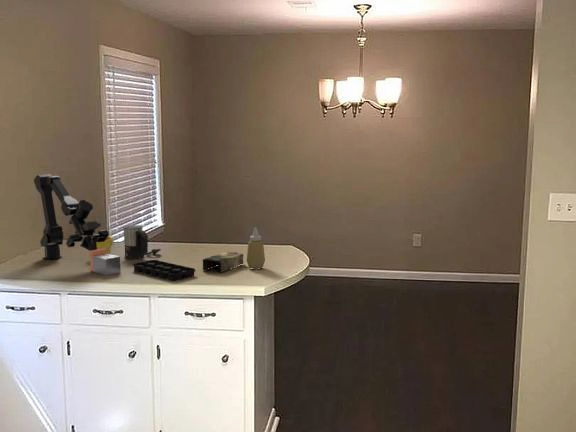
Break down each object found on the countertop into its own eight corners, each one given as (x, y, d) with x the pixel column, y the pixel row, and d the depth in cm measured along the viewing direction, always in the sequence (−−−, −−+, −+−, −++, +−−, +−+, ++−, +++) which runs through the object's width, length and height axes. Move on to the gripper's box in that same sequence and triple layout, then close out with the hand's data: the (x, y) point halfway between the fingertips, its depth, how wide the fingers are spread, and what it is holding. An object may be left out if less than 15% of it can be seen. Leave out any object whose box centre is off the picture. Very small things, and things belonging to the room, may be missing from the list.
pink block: (90, 270, 292) (89, 250, 290) (104, 267, 297) (103, 248, 296) (104, 274, 285) (103, 254, 284) (118, 271, 290) (117, 251, 289)
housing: (93, 271, 291) (92, 256, 289) (107, 269, 296) (106, 253, 295) (106, 275, 284) (105, 259, 283) (120, 272, 289) (120, 256, 288)
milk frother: (120, 258, 317) (118, 227, 315) (139, 252, 332) (138, 222, 330) (145, 261, 312) (144, 229, 310) (164, 254, 326) (163, 224, 324)
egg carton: (150, 266, 302) (149, 258, 301) (204, 274, 288) (204, 265, 287) (122, 275, 287) (122, 266, 286) (178, 283, 272) (178, 274, 272)
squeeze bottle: (267, 267, 298) (267, 226, 296) (261, 271, 291) (260, 230, 288) (250, 266, 301) (250, 226, 298) (243, 270, 293) (243, 229, 291)
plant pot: (107, 261, 311) (106, 240, 309) (86, 260, 313) (85, 239, 312) (117, 256, 321) (116, 236, 319) (97, 256, 323) (96, 235, 322)
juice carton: (227, 262, 309) (226, 249, 308) (245, 265, 304) (245, 251, 303) (201, 272, 291) (201, 258, 290) (221, 275, 287) (220, 261, 286)
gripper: (68, 216, 287) (84, 245, 282) (106, 211, 301) (121, 239, 296) (59, 232, 294) (74, 261, 288) (96, 227, 308) (111, 254, 302)
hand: (96, 253), depth 293 cm, fingers closed, pressing on pink block
